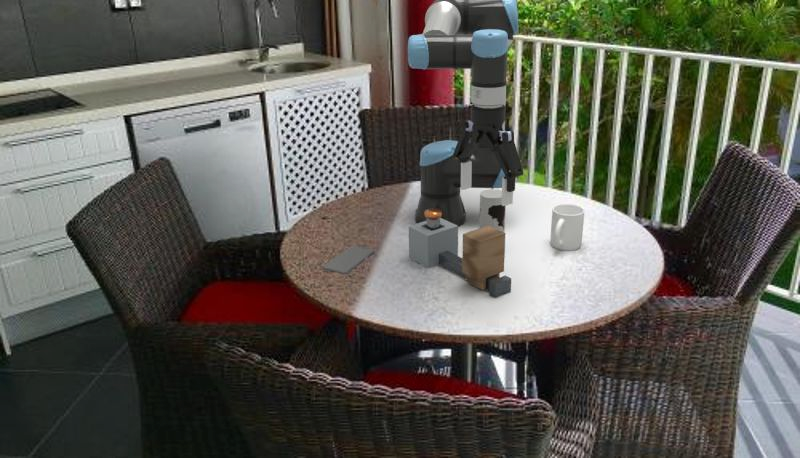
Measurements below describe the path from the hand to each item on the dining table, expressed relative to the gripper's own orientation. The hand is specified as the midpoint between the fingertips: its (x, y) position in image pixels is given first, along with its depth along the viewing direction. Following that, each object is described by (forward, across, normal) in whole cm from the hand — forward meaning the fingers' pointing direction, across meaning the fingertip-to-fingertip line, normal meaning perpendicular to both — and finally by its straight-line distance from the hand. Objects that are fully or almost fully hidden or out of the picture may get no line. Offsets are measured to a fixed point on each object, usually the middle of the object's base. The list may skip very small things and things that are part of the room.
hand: (485, 196), depth 156 cm
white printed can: (+23, -15, +17) cm, 32 cm away
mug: (+23, -2, +31) cm, 38 cm away
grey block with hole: (+23, -19, 0) cm, 30 cm away
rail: (+23, -4, 0) cm, 23 cm away
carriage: (+23, 0, 0) cm, 23 cm away
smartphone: (+23, -32, -18) cm, 44 cm away
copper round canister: (+17, -19, 0) cm, 25 cm away
